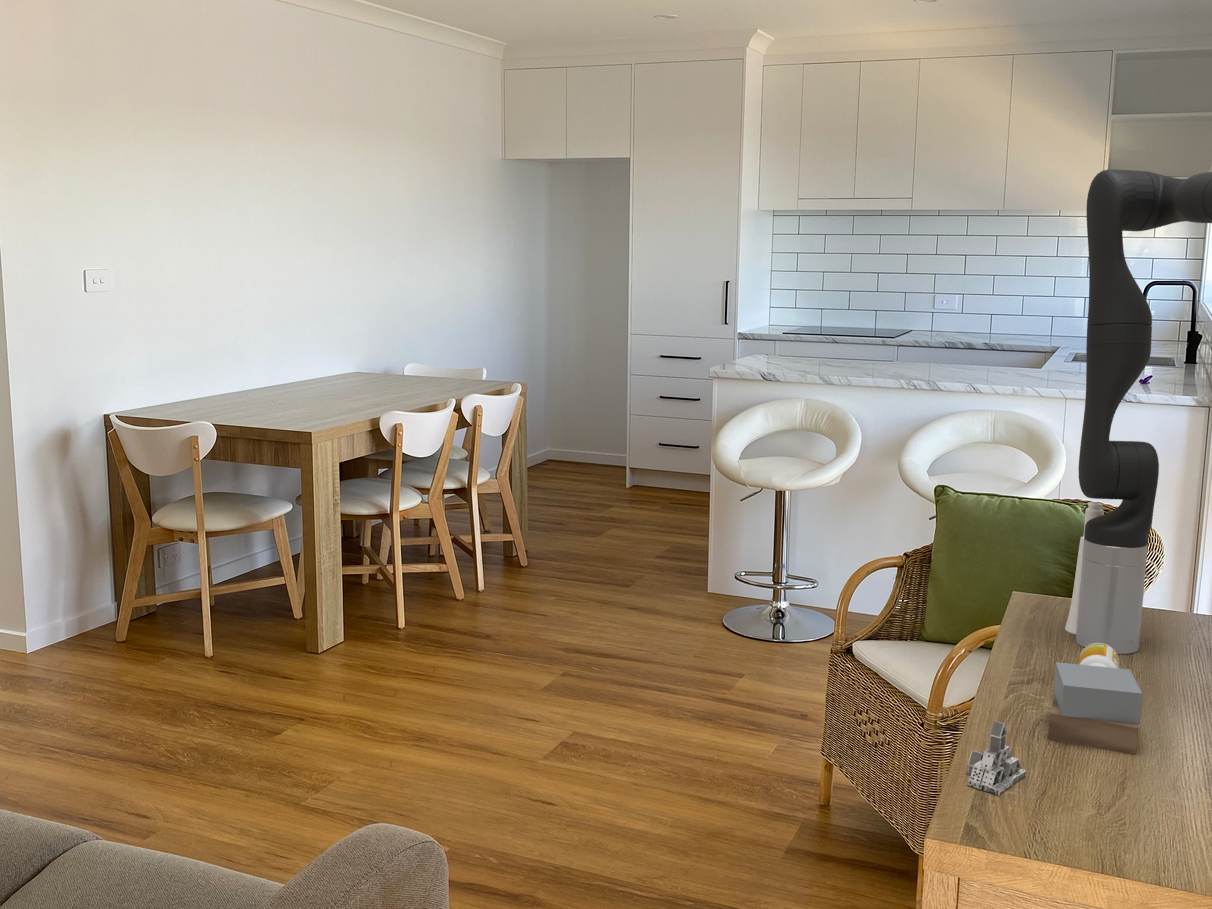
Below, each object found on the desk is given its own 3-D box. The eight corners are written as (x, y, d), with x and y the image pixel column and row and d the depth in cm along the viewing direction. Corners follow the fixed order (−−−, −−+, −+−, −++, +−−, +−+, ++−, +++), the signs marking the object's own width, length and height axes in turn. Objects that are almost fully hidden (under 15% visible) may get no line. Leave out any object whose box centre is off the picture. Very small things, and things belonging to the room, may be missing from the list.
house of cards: (964, 754, 135) (968, 694, 134) (1033, 777, 129) (1038, 715, 128) (927, 776, 129) (930, 714, 127) (997, 801, 122) (1002, 736, 121)
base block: (1053, 716, 148) (1055, 687, 147) (1135, 730, 143) (1137, 700, 143) (1047, 743, 139) (1049, 713, 138) (1135, 758, 134) (1137, 727, 134)
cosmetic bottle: (1097, 627, 187) (1108, 500, 183) (1109, 638, 181) (1121, 507, 177) (1060, 625, 187) (1070, 499, 184) (1071, 636, 181) (1082, 506, 178)
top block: (1053, 691, 146) (1055, 662, 145) (1127, 698, 143) (1129, 669, 143) (1061, 715, 137) (1063, 685, 137) (1139, 724, 135) (1142, 693, 134)
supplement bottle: (1071, 662, 163) (1068, 683, 154) (1093, 634, 161) (1091, 654, 152) (1105, 684, 161) (1103, 706, 153) (1127, 656, 160) (1127, 677, 151)
